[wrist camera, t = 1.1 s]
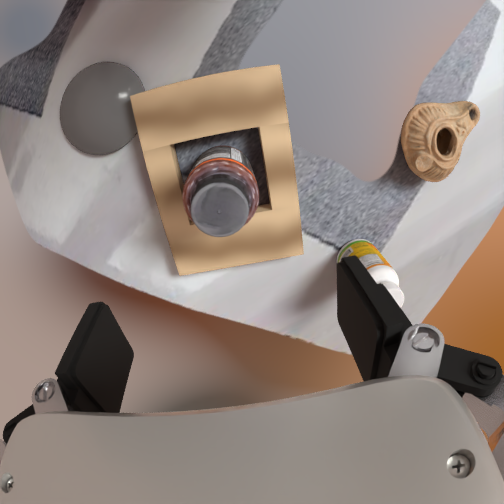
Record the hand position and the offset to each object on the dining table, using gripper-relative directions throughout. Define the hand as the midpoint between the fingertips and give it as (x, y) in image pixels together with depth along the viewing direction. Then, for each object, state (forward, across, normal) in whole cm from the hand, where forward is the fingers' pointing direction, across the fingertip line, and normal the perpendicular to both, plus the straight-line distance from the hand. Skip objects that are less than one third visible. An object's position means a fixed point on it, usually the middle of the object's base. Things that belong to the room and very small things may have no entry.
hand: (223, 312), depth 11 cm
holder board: (+21, 0, -1) cm, 21 cm away
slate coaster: (+21, +11, -11) cm, 26 cm away
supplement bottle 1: (+21, 0, -1) cm, 21 cm away
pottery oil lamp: (+21, -25, -2) cm, 33 cm away
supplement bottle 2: (+22, -14, +12) cm, 28 cm away
